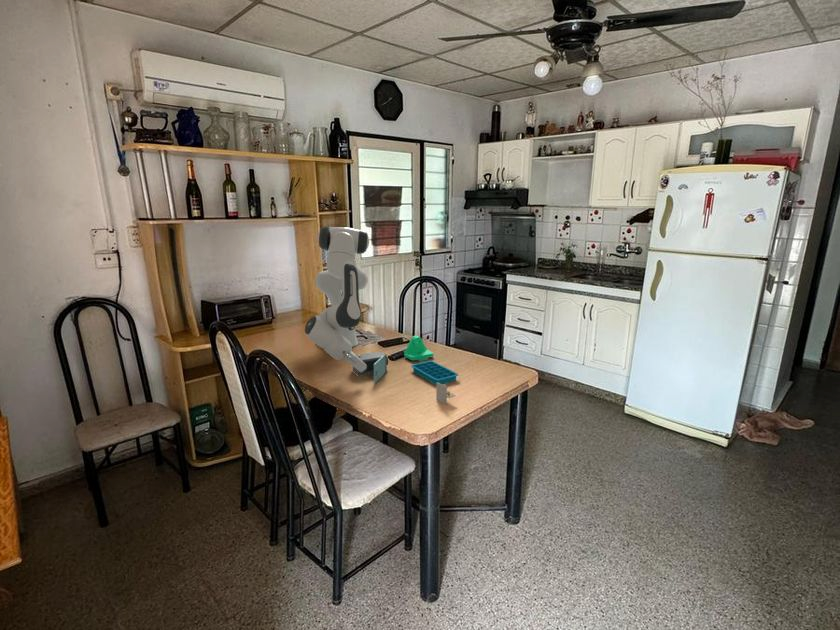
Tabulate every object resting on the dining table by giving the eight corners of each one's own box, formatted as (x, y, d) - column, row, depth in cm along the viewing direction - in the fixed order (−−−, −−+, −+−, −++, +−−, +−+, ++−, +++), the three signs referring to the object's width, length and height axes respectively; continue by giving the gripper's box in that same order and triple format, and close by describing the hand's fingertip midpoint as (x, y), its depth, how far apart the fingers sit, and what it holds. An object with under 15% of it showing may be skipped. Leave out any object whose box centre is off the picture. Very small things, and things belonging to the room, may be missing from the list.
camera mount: (412, 362, 201) (412, 341, 199) (404, 358, 208) (404, 337, 205) (434, 358, 208) (434, 337, 205) (425, 353, 214) (425, 333, 211)
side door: (384, 371, 190) (384, 353, 188) (387, 372, 189) (387, 354, 187) (373, 383, 177) (373, 364, 175) (376, 383, 177) (376, 364, 175)
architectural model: (442, 398, 165) (443, 379, 163) (455, 404, 160) (455, 385, 158) (435, 400, 163) (436, 382, 161) (448, 407, 158) (448, 388, 156)
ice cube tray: (431, 366, 197) (431, 360, 196) (459, 381, 181) (459, 374, 180) (409, 371, 191) (409, 365, 190) (436, 387, 175) (436, 380, 174)
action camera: (384, 365, 197) (383, 349, 195) (390, 370, 191) (390, 354, 189) (352, 370, 191) (352, 354, 189) (358, 376, 184) (357, 359, 183)
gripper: (353, 350, 161) (379, 370, 168) (338, 335, 179) (361, 354, 186) (342, 363, 160) (368, 383, 167) (327, 347, 178) (351, 366, 185)
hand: (364, 368), depth 176 cm, fingers closed
